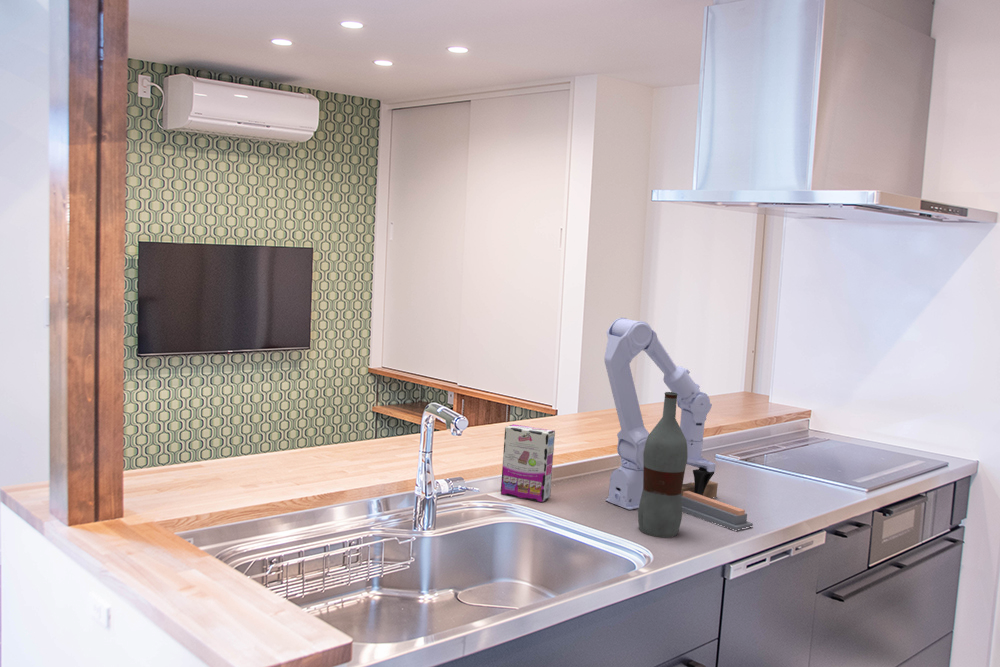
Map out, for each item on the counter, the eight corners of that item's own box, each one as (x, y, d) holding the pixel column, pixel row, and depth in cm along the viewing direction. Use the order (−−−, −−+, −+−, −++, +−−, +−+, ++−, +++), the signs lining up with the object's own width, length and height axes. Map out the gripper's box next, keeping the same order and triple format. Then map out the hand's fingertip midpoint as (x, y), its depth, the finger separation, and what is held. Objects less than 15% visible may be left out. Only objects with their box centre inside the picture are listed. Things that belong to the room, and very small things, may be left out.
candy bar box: (550, 498, 195) (556, 430, 194) (543, 503, 191) (548, 433, 189) (508, 489, 200) (513, 423, 198) (499, 494, 195) (504, 426, 194)
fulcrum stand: (735, 531, 180) (737, 513, 180) (672, 508, 194) (674, 491, 194) (752, 527, 184) (754, 510, 183) (689, 505, 198) (690, 488, 197)
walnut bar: (661, 508, 194) (663, 492, 194) (652, 505, 197) (653, 488, 196) (716, 498, 206) (717, 483, 206) (706, 495, 209) (708, 480, 208)
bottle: (670, 523, 182) (682, 389, 179) (687, 538, 173) (701, 397, 170) (630, 523, 180) (642, 388, 177) (646, 538, 171) (659, 395, 168)
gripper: (725, 444, 197) (720, 499, 198) (678, 431, 208) (673, 483, 209) (706, 446, 192) (701, 503, 194) (659, 433, 204) (655, 487, 205)
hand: (685, 493), depth 201 cm, fingers open, 7 cm apart
